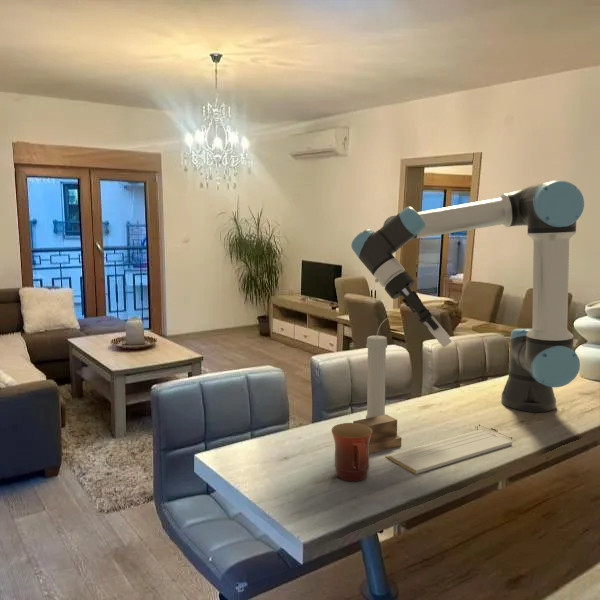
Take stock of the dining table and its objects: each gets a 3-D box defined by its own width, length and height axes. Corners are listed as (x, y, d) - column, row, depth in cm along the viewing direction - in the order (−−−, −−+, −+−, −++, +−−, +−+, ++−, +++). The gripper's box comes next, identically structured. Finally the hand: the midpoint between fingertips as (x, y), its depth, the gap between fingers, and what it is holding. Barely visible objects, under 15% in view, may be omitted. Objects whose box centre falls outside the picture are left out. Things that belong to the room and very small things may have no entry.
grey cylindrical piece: (365, 421, 149) (366, 314, 145) (388, 421, 149) (390, 314, 145) (365, 428, 144) (366, 317, 140) (389, 429, 143) (391, 317, 139)
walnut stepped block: (381, 434, 140) (381, 412, 139) (401, 445, 133) (401, 422, 132) (349, 442, 135) (349, 419, 134) (367, 453, 128) (368, 429, 127)
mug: (326, 468, 120) (326, 424, 119) (364, 464, 122) (364, 421, 121) (342, 494, 109) (342, 445, 107) (383, 489, 110) (384, 441, 109)
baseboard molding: (381, 457, 128) (416, 477, 117) (381, 445, 127) (416, 464, 117) (474, 431, 143) (512, 447, 133) (474, 420, 143) (512, 436, 132)
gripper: (390, 296, 156) (437, 354, 149) (375, 279, 132) (431, 348, 126) (410, 279, 155) (459, 337, 148) (400, 259, 131) (457, 328, 125)
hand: (446, 342), depth 137 cm, fingers open, 13 cm apart
